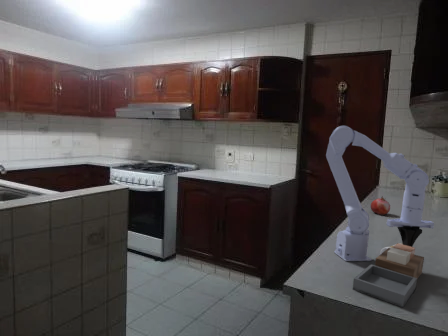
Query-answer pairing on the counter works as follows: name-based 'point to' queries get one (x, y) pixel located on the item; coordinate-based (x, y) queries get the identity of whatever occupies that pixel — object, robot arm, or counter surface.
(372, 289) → the box
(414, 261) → the walnut board
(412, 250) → the terracotta tile
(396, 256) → the cream tile
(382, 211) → the fruit
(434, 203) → the counter surface
